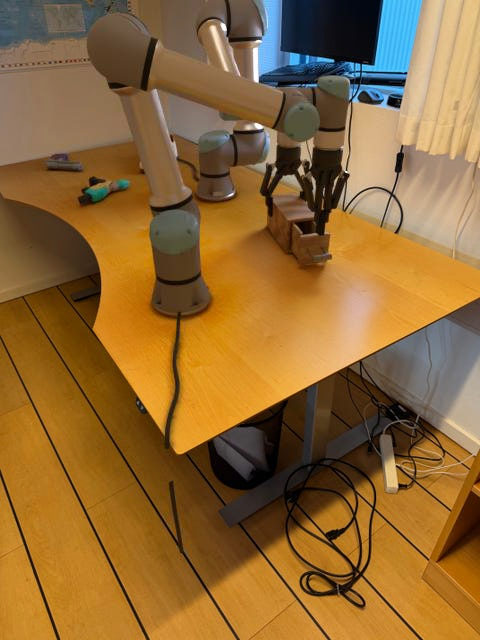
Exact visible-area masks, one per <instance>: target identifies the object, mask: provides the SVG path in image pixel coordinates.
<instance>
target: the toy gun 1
mask: <svg viewBox="0 0 480 640" xmlns="http://www.w3.org/2000/svg"><path fill="white" fill-rule="evenodd" d="M83 164H84V163H82V162H80V161H71V160H70V161H69V154H68V153H67V152H60V153H55V154H52V155H51V156H50V159H46V162H45V164H44V166H45V167H46V168H47V169H49V170H62V171H63V170H64V171H65V170H67V171H82V168H84V165H83Z"/></svg>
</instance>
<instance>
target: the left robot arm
mask: <svg viewBox="0 0 480 640" xmlns="http://www.w3.org/2000/svg"><path fill="white" fill-rule="evenodd" d="M86 50H87V51H86V52H87V55H88V58H89V61H90V63H91V65H92V66H93V67H94V69H95V70H96V71H97V72H98V73H99V74H100V75H101V76H102V77H103V78H105V80H106V83H107V86H108V89H109V91H111V92H113V93H114V94H115V95H117V96H118V97H119V100H120V104H121V105H122V110H123V112H124V115H125V118H126V122H127V124H128V127H129V130H130V133H131V136H132V139H133V142H134V145H135V148H136V151H137V155H138V157H139V160H140V162H141V163H142V166H143V169H144V170H143V169H142V170H143V172H144V175H145V179H146V181H147V184H148V187H149V190H150V193H151V194H150V196H149V198H148V200H147V201H148V202H147V203H148V205H149V209H150V213H151V215H152V217H153V218H152V219H151V220H150V222H149V231H148V237H149V241H150V245H151V253H152V260H153V261H152V262H153V268H154V274H155V275H154V276H155V281H154V284H153V290H152V294H151V305H152V308H153V310H154V311H155V312H156V313H157V314H159V315H160V316H163V317H167V318H171V319H176V328H175V340H174V346H173V351H172V372H173V376H174V382H175V383H174V388H175V389H174V395H173V398H172V401H171V403H170V406H169V409H168V412H167V416H166V422H165V427H164V449H165V450H168V449H170V447H171V446H170V445H171V443H170V442H171V441H170V440H171V437H170V436H171V424H172V418H173V414H174V411H175V408H176V405H177V402H178V399H179V394H180V376H179V372H178V366H177V365H178V364H177V359H178V358H177V356H178V350H179V345H180V344H179V343H180V335H181V320H182V319H183V318H185V319H186V318H190V317H194V316H196V315H199V314H201V313H202V312H204V311H205V310H207V308H208V307H209V306H210V303H211V294H210V293H211V292H210V288H209V286H208V285H207V284H206V281H205V278H204V277H203V275H202V262H201V261H202V259H201V247H200V246H201V243H200V242H201V241H200V239H201V236H200V235H201V234H200V232H201V218H202V217H201V211H200V208H199V206H198V204H197V202H196V201H195V198H194V195H193V192H192V188H191V187H189V186H187V185H185V184H184V180H183V177H182V174H181V170H180V166H179V163H178V160H177V159H176V158H177V157H176V156H175V152H174V149H173V145H172V142H171V138H170V135H171V134H170V132H169V129H168V125H167V121H166V118H165V114H164V111H163V108H162V107H163V106H162V104H161V100H160V97H159V93H158V91H159V92H162V93H166V94H169V95H171V96H175V97H178V98H180V99H184V100H187V101H189V102H192V103H195V104H198V105H200V106H204V107H206V108H210V109H212V110H216V111H218V112H219V111H221V112H224V113H227V114H230V115H233V116H236V117H239V118H242V119H245V120H248V121H250V122H253V123H256V124H259V125H262V126H264V128H269V129H271V130H273V131H275V132H277V131H279V132H281V133H284V134H286V135H287V136H288V137H289V138H290V139H292V140H293V141H296V142H302V143H305V142H308V141H310V140H311V139H312V138H313V140H312V144H313V147H312V153H311V164H310V168H309V169H310V170H309V171H310V172H308V173H307V174H306V175H305V174H302V175H301V174H300V176H301V179H302V181H303V183H304V187H305V193H306V199H307V202H306V203H307V205H308V208H309V209H310V210H311V211H312V212H314V222H315V223H316V233H317V234H318V235H319V236H323V235H324V233H325V232H326V224H327V223H329V221H330V214H331V213H332V212H333V211H332V210H337V208H338V205H339V203H340V200H341V198H342V197H341V196H342V194H343V191H344V188H345V185H346V182H347V181H348V180H349V178H350V177H351V173H349V172H348V171H346V170H344V169H343V165H342V162H343V155H344V148H343V147H344V145H345V139H346V138H345V137H346V126H347V118H348V111H349V104H350V92H351V82H350V79H349V78H347V77H346V76H343V75H323V76H320V77H319V78H317V79H318V80H317V83H316V86H310V87H309V86H308V87H297V88H283V87H282V86H280V87H274V88H271V86H268V85H266V84H263V83H260V82H259V83H258V82H255V81H252V80H249V79H247V78H244V77H241V76H239V75H236V74H233V73H231V72H228V71H225V70H222V69H220V68H217V67H214V66H212V65H211V64H210V63H209V64H208V63H206V62H203V61H201V60H198V59H195V58H193V57H190V56H188V55H184V54H182V53H180V52H176V51H174V50H170V49H168V48H165V47H164V45H163V42H162V40H160V39H158V38H156V37H153V36H152V35H151V32H150V30H149V28H148V27H147V25H146V24H145V23H144V21H143V20H142V19H141V18H139V17H138V16H137V15H135V14H133V13H131V12H128V11H123V10H119V11H112V12H110V13H107V14H105V15H104V16H101V17H100V18H98V19H96V21H94V22H93V24H92V25H91V26H90V29H89V30H88V33H87V36H86ZM311 178H313V179H311ZM313 180H314V181H315V182H314V185H315V189H314V190H313V191H312V185H311V183H310V182H311V181H312V182H313ZM335 181H336V182H335ZM314 191H315V192H314ZM174 485H175V484H174V480H171V481H169V482H168V487H169V488H168V489H169V490H168V491H169V497H170V503H171V504H170V505H171V510H172V515H173V522H174V527H175V532H176V538H177V543H178V550H179V553H180V554H183V553H184V545H183V539H182V538H183V537H182V532H181V525H180V520H179V515H178V509H177V502H176V493H175V486H174Z"/></svg>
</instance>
